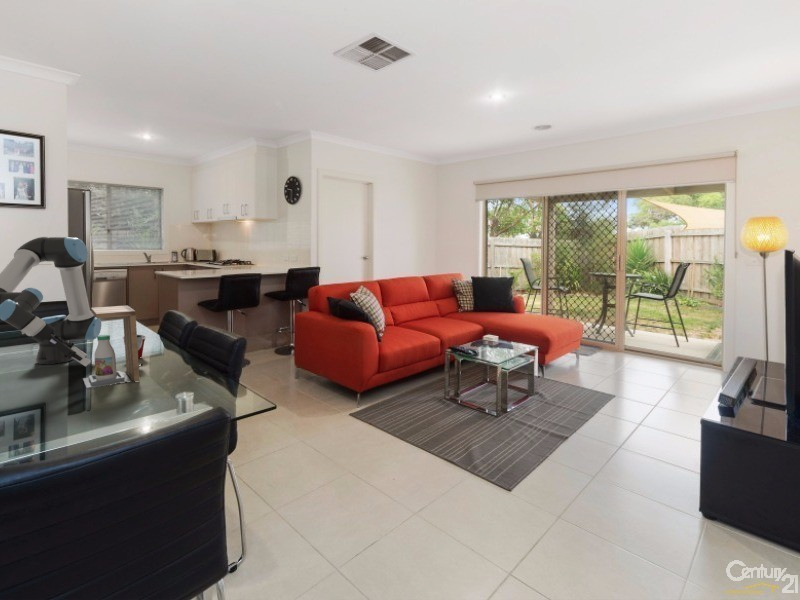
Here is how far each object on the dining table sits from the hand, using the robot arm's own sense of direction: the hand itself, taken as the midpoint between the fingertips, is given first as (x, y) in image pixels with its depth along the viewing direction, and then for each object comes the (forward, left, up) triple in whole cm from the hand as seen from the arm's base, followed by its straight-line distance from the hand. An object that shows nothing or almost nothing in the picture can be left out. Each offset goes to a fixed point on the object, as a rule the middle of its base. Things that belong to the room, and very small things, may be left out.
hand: (86, 360), depth 187 cm
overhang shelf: (0, +11, -11) cm, 15 cm away
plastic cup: (-35, +24, -11) cm, 44 cm away
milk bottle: (0, +7, -10) cm, 12 cm away
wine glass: (-20, +21, -11) cm, 31 cm away
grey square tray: (0, +7, -11) cm, 13 cm away
